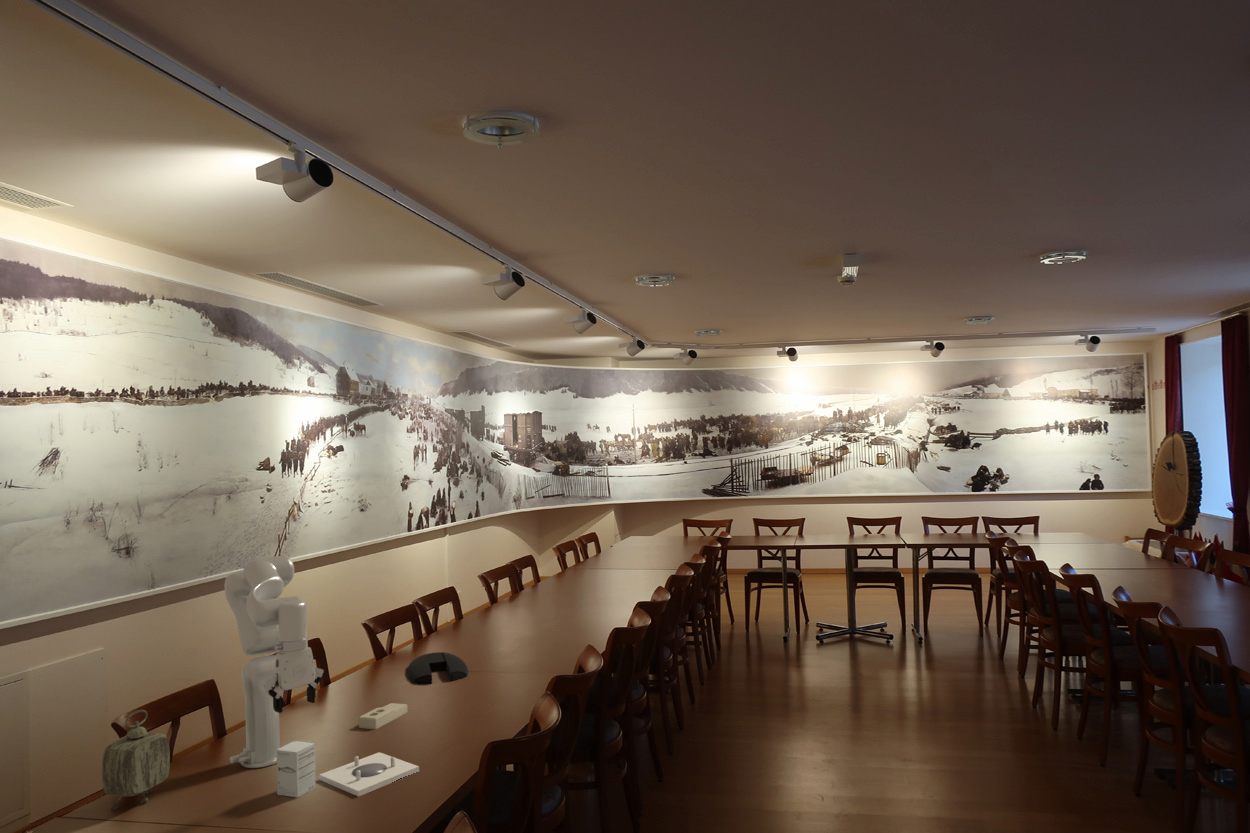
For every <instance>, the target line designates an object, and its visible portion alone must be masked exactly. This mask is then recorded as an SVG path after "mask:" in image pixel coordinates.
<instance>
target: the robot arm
mask: <svg viewBox="0 0 1250 833" xmlns="http://www.w3.org/2000/svg"><path fill="white" fill-rule="evenodd" d="M294 575H295V564H294V562H293V560H292V559H291V558H290V557H289V556H286V555H276V556H268V557H267V556H266V557H258V558H255V559H252V560H250V561H248V562H247V563H246V564H245V566H244V568H243V569H242V570H239V571H235V572H232V573H230V574H229V575H227V576H226V578H225V581H224V593H225V595H224V596H225V598H226V602H227V603H228V605H229V607H230V609H231V611H232V612H233V615H234V616H235V620H236V625H237V630H238V636H239V637H238V638H239V642H240V645H241V650H242V652H243V653H244V655H245V656H248V657H255V656H258V657H255V658H252V659H249V660H248V661H246V662H245V663H243V665H242V666H241V671H240V676H241V681H242V687H243V692H244V694H243V695H244V707H245V708H244V712H245V714H244V715H245V741H246V742H245V747H244V748H242V752H240V753H239V754H236V755H235V754H234V755H231V756H230V757H229V762H230V763H231V764H234V763H236V762H238V763H240V765H241V766H242V767H243V768H247V769H248V768H249V769H256V768H257V769H258V768H264V767H269V766H272V765H275V764H277V749H279V748H281V739H280V735H281V734H280V733H281V732H280V730H281V728H280V713H282V712H283V698H282V697H281V696H282V695H283V693H284V692H285V691H288V690H289V691H290V690H293V689H296V688H301V687H303V686H307V687H306V701H307V702H308V703H311V704H315V702H316V696H317V695H316V692H317V690H316V688H317V687H318V685H319V683H320V682H321V680H322V677H323V673H324V672H325V671H324V669H323V668H320V667H319V668H318V667H316V666H315V661H314V656H313V651H312V648H311V647H310V646H309V644H308V643H309V642H308V637H309V636H308V609H307V608H308V606H307V603H306V601H304V600H302V598H301V597H299V596H297V595H296V596H295V595H291V596H283V597H280V596H281V595H282V594H283V592H284V590H285V588H286V586H288V585H289V584H290V583H291V581H292V580H293V578H294ZM272 653H276V654H272ZM267 654H268V655H267ZM269 654H271V655H269ZM261 655H265V656H261ZM273 687H274V689H273Z"/></svg>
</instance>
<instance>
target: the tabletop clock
mask: <svg viewBox="0 0 1250 833" xmlns="http://www.w3.org/2000/svg"><path fill="white" fill-rule="evenodd" d="M139 713H143V714H144V715H145V717H144V719H143V720H142V721H140V722H139V720H136V721H134V723H133V725H131V724H130V725H129V724H128V721H129V719H130V718H131V717H132V716H134V715H136V714H139ZM148 714H149V713H148V712H147V711H146V710H144V709H139V710H136V711H133V712H131V713H130V714H128V716H127V717H126V719H125V721H124V724H125V726H126V728H129V730H128V731H127V733H126V735H125V736H122V737H120V738H119V739H116V740H115V741H113V742H111V743H110V744H108V745H107V746H105V748H104V752H103V754H102V760H101V761H102V762H101V764H102V765H101V778H102V780H101V781H102V787H103V791H104V793H105V795H110V796H111V795H112V796H118V797H117V798H116V801H115V802H114V803H112V804H111V805H110V807H109V808H110V810H111V811H115V810H117V808H118V804H119V803H120V801H121V800H122V798H123V797H130V798H131V797H135V796H138V795H140V794H141V796H142V798H141V800H140V802H141V803H142V804H143V803H144V804H146V802H147V803H148V802H149V798H148V797H147V796H146V794H149V793H151V791H152V788H154V787H156V786H158V785H160V784H162V783H163V782H164V781H165V780H166V779H167V778H168V777H169V774H170V769H171V768H170V767H171V766H170V765H171V764H170V762H171V753H170V752H171V750H170V742H169V739H168V737H167V736H166V733H161V732H160V733H159V732H148V731H147V729H146V728H145V727H144V726H141V725H143V723H145V722H146V720H147V719H148V716H149V715H148ZM130 728H131V729H130Z"/></svg>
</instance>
